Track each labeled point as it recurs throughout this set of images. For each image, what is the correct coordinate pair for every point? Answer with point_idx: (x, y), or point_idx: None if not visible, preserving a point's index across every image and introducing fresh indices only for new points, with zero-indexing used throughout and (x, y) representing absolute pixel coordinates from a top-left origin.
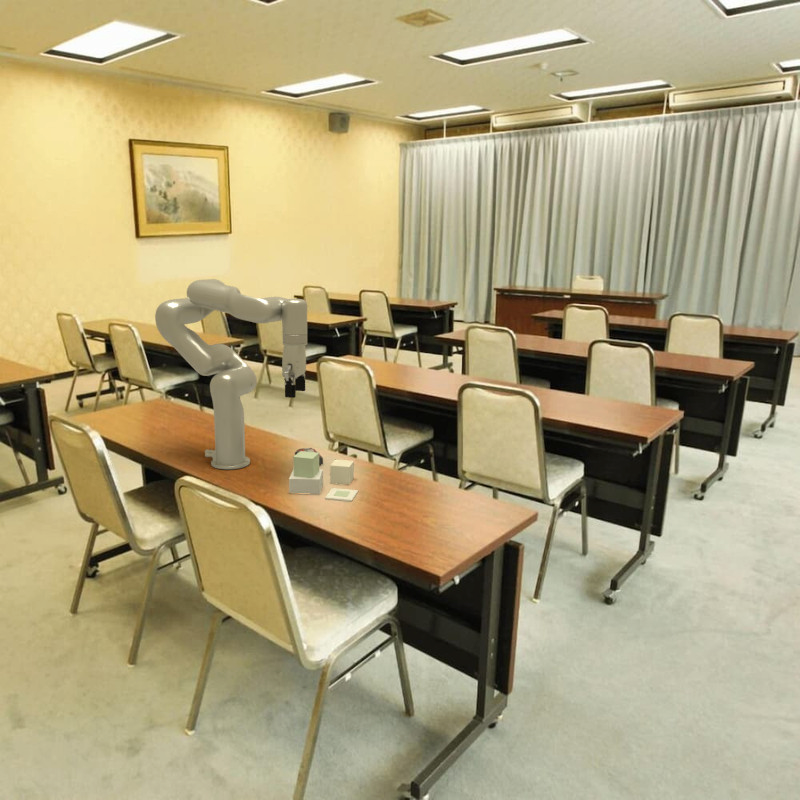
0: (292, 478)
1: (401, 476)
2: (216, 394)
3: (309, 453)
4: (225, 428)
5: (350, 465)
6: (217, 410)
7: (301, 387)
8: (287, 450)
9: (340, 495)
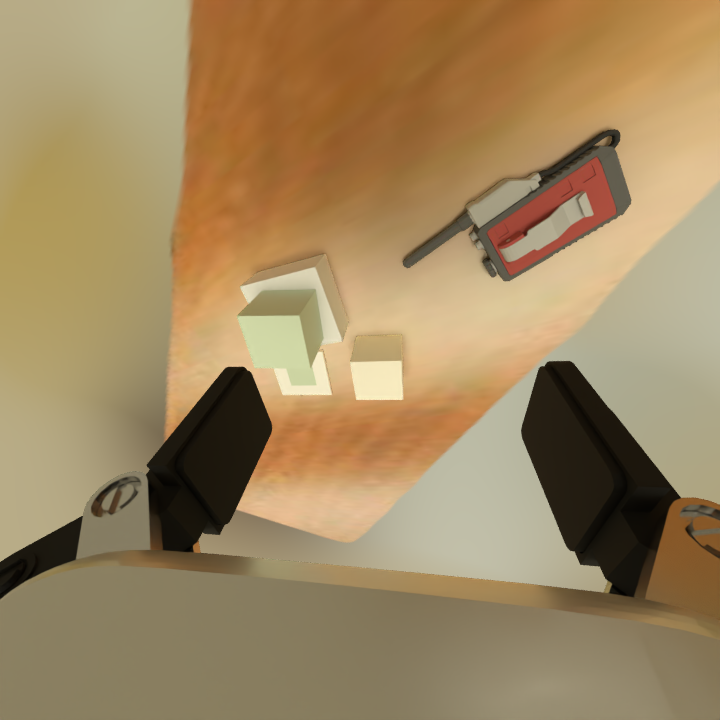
0: (245, 294)
1: (439, 439)
2: None
3: (290, 347)
4: None
5: (367, 399)
6: None
7: (539, 440)
8: (710, 40)
9: (291, 375)
